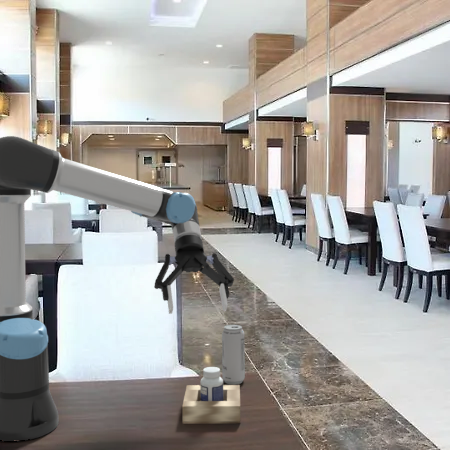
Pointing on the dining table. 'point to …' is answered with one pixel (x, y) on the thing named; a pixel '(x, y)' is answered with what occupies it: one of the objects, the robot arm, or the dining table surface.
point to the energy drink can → (233, 354)
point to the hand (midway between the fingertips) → (198, 309)
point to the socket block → (211, 406)
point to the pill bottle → (211, 385)
